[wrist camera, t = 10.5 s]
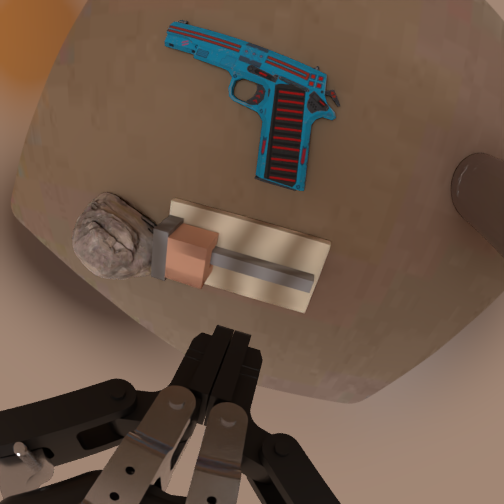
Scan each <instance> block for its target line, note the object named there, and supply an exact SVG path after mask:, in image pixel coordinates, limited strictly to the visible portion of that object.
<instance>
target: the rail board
mask: <svg viewBox="0 0 504 504" xmlns="http://www.w3.org/2000/svg"><path fill="white" fill-rule="evenodd" d="M183 223H184V224H187V225H191V226H195V227H198V228H202V229H205V230H209V231H212V232H216V233H219V235H218V240H217V245H216V246H215V248H214V249H213V250H212V254H211V260H210V264H211V265H213V268H212V272H211V273H210V275H209V277H208V278H207V280H206V282H205V283H204V284H207V285H210V286H214V287H217V288H220V289H223V290H227V291H230V292H233V293H236V294H240V295H243V296H246V297H250V298H253V299H257V300H260V301H263V302H267V303H270V304H274V305H277V306H281V307H284V308H288V309H291V310H295V311H298V312H302V313H305V311H306V309H307V306H308V304H309V301H310V299H311V296H312V294H313V291H314V288H315V286H316V283H317V281H318V278H319V276H320V273H321V270H322V268H323V265H324V262H325V260H326V257H327V254H328V252H329V249H330V246H331V241H328V240H325V239H321V238H318V237H315V236H311V235H308V234H304V233H301V232H298V231H294V230H291V229H287V228H284V227H280V226H277V225H273V224H270V223H266V222H263V221H259V220H255V219H252V218H248V217H245V216H241V215H237V214H234V213H230V212H226V211H223V210H219V209H215V208H212V207H208V206H204V205H200V204H197V203H193V202H189V201H185V200H181V199H177V198H174V199H173V200H171V207H170V215H169V216H168V217H167V218H166V219H165V220H163V221H162V222H161V223H160V224H158V225H157V226H156V227H155V228H154V231H153V246H152V264H151V277H154V278H157V279H160V280H163V281H165V280H166V279H167V278H166V277H165V267H166V255H167V243H168V237H169V236H170V235H171V234H172V233H173V232H174V231H175V230H176V229H177V228H178V227H179V226H180V225H181V224H183Z"/></svg>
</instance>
